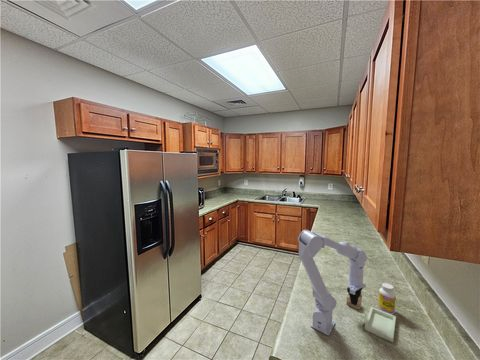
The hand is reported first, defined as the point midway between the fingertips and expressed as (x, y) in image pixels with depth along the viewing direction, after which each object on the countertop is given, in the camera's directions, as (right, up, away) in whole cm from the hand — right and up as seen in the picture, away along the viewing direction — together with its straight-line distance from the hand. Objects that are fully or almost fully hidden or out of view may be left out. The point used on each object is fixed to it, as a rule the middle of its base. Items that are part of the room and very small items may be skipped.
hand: (355, 301), depth 96 cm
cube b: (+4, -8, +10) cm, 13 cm away
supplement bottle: (+19, -8, +6) cm, 21 cm away
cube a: (0, -2, 0) cm, 2 cm away
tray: (+10, -9, -4) cm, 13 cm away
